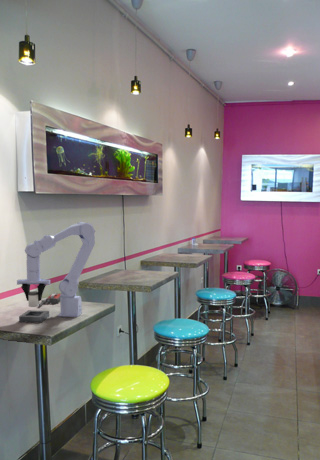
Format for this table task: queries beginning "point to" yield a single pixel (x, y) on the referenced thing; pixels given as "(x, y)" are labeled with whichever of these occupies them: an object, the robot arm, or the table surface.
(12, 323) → the table surface
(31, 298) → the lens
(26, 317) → the grey square frame
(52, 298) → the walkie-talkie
